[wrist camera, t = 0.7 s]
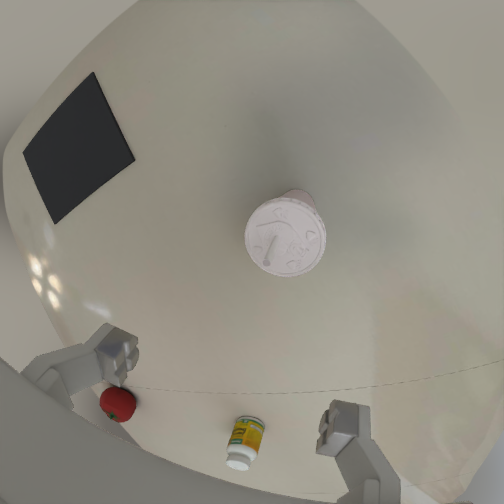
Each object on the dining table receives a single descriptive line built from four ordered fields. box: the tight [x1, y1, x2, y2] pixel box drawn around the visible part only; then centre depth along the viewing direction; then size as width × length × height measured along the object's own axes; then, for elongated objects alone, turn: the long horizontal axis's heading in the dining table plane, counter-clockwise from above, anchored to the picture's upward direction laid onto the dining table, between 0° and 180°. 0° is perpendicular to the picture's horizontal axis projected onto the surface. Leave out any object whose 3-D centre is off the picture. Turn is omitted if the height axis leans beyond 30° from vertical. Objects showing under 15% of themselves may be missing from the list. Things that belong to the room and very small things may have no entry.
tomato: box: [100, 387, 136, 422], centre depth 54 cm, size 8×8×7 cm
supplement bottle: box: [226, 417, 265, 471], centre depth 46 cm, size 5×5×10 cm
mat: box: [23, 72, 135, 224], centre depth 36 cm, size 20×14×1 cm
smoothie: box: [244, 189, 326, 277], centre depth 26 cm, size 6×6×14 cm
